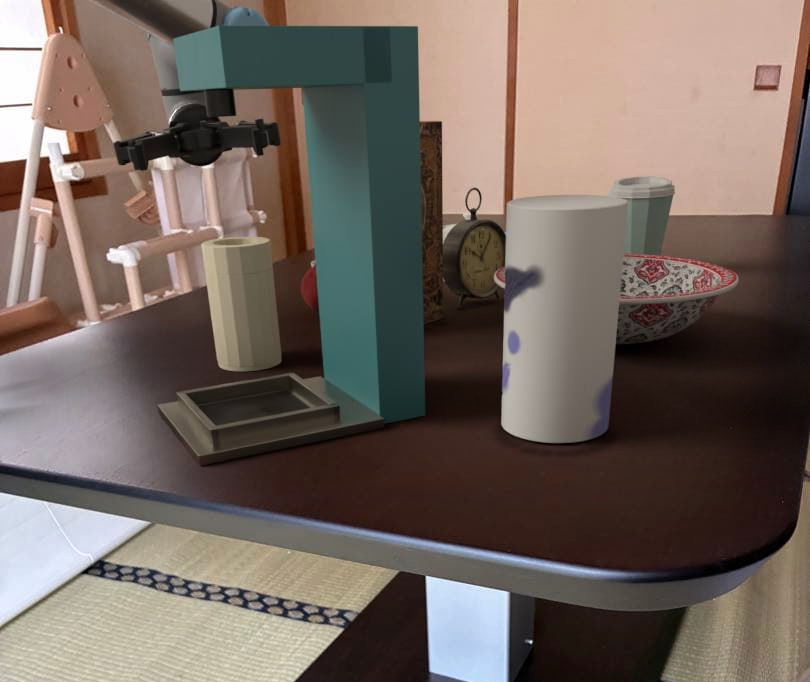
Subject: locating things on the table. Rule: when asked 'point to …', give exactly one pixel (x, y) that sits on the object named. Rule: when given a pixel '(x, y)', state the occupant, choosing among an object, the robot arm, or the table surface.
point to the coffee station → (328, 233)
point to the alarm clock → (473, 256)
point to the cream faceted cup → (242, 302)
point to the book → (432, 219)
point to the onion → (310, 289)
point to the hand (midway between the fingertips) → (200, 150)
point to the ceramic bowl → (662, 294)
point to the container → (561, 315)
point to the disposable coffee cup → (645, 212)
